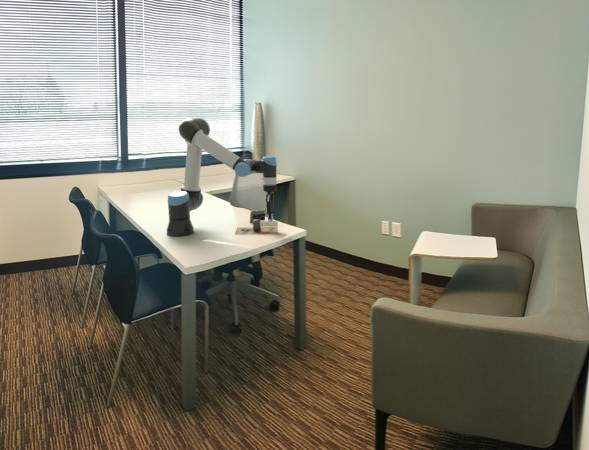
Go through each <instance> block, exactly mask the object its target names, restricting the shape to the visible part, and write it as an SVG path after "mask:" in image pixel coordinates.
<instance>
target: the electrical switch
mask: <svg viewBox="0 0 589 450" xmlns="http://www.w3.org/2000/svg"><path fill="white" fill-rule="evenodd" d="M249 213H250V214H249V223H250V224H253V220H254V219H260V220H265V221H266V215H267V214H266V213H267V212H266V210H265V209H257V210H256V209H255V210H254V209H253V210H250V212H249Z"/></svg>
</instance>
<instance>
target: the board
mask: <svg viewBox="0 0 589 450" xmlns="http://www.w3.org/2000/svg"><path fill="white" fill-rule="evenodd" d="M241 228H253V226H252V227H251V226H249V227H248V226H247V227H246V226H245V227H241V226H240V227H237V228H236V230H235V233H234V235H236V236H239V235H242V236H243V235H244V236H245V235H251V236H252V235H278V234H279V226H277V227H269V226H261V231H253V230H251V229H241Z"/></svg>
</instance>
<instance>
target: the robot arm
mask: <svg viewBox="0 0 589 450" xmlns="http://www.w3.org/2000/svg"><path fill="white" fill-rule="evenodd" d="M210 127H211V126H210V124H209V122H207V121H206V119H204V118H201V117H200V118H199V117H194V118H185V119H183V120H182V121H181V122H180V124H179V126H178V132H179V136H181V138H182V139H183V140H184V141H185V143H186V145H187V146H186V158H185V168H184V169H185V170H184V178H183V185H182V186H180V190H178V191H173V192H171V193H169V194H168V195H167V205H168V206H167V207H168V223H167V228H166V235H168V236H170V235H171V236H170V237H184V236H185V235H186V236H189V235H192V234H194V232H195V230H194V226H193V223H192V220H191V214H190V212H192V211H195V210H197V209H199V207H201V206H202V204H203V202H204V196H203V194H202V188H201V187H200V177H201V167H202V166H201V165H202V159H203V158H202V155H203V151H204V152H206V153H208V154H209V155H210V156H212V157H213V158H215V159H217V160H218V161H219V162H221V163H223V164H224V165H225V166H227V167H228V168H230V169H231V170H233V171H234V173H235V174H236V176H238V177H240V178H243V177H248V176H250V175H253V174H262V177H263V178H262V179H261V180H262V182H263V186H262V187H263V188H262V190H263V192H265V193H266V194H265V197H266V198H265V203H266V212H265V213H266V214H265V215H267V221H274V214H275V211H274V210H275V209H274V205H275V204H274V203H275V202H274V200H275V199H274V197H275V193H274V192H277V190H278V188H277V187H278V186H277V185H278V184H277V183H278V182H277V179H278V178H277V164H278V163H277V157H276V156H274V155H273V156H272V155H266V156H262V159H252V158H246V159H243V158H241V157H240V156H238V155H237V154H235V153H234V152H232V151H231V150H229V149H228V148H226V147H225V146H224V145H222V144H220V143H219V142H218V141H216V140H215V139H213V138H212V137H210V136H209V134H210V132H211V128H210Z"/></svg>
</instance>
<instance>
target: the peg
mask: <svg viewBox="0 0 589 450" xmlns="http://www.w3.org/2000/svg"><path fill="white" fill-rule="evenodd" d="M278 223H279V221H278V220H273V221H268V220H266V219H265V220H260V219H254V220H253V223H252V227H253V228H241V229H251V230H253V231H261V227H279V226H278V225H279V224H278Z"/></svg>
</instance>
